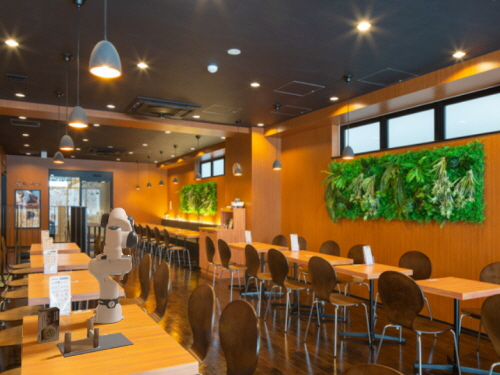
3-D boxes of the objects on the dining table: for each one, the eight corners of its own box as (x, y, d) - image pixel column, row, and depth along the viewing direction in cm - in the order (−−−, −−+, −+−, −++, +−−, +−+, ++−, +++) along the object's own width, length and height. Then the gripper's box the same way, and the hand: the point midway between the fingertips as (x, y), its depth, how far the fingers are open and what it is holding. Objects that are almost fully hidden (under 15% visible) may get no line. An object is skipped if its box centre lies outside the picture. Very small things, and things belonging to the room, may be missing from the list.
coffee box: (55, 336, 207) (56, 306, 209) (59, 339, 203) (60, 308, 204) (36, 340, 201) (37, 309, 202) (40, 343, 197) (41, 311, 198)
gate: (92, 346, 191) (92, 325, 192) (86, 338, 203) (86, 319, 204) (98, 345, 193) (99, 324, 194) (92, 337, 205) (92, 318, 205)
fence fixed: (63, 352, 184) (64, 332, 184) (97, 345, 193) (98, 327, 193) (64, 354, 181) (65, 334, 182) (99, 347, 190) (99, 328, 191)
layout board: (56, 344, 196) (57, 343, 196) (120, 333, 214) (120, 332, 215) (64, 357, 178) (64, 356, 178) (133, 344, 196) (133, 343, 196)
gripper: (130, 254, 224) (129, 278, 223) (92, 256, 212) (92, 281, 211) (133, 255, 219) (132, 279, 218) (95, 257, 207) (94, 283, 206)
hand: (112, 280), depth 214 cm, fingers open, 8 cm apart
